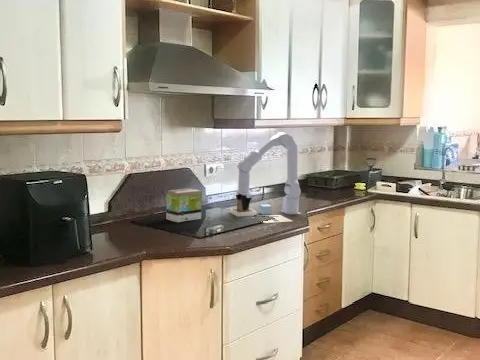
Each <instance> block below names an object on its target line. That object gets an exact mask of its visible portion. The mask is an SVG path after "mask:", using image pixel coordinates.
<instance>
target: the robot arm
mask: <svg viewBox="0 0 480 360" xmlns="http://www.w3.org/2000/svg"><path fill="white" fill-rule="evenodd" d="M279 146H282V147H283V148H285V150H286V151H287V152H286V153H287V154H286V156H287V159H286V160H287V161H286V163H287V164H286V165H287V167H286V168H287V169H286V170H287V172H286V174H287V177H286V181H285V186H284V187H283V191H284V194H285V196H284V197H283V198H282V202H281V203H282V204H281V205H282V206H281V207H282V209H281V210H280V212H282V213H285V215H286V214H287V215H302V213H301V212H299V203H300V196H301V193H302V189H301V188H300V187H301V186H300V183H299V181H298V180H299V179H298V145H297V144H296V142H295V140H294V137H293V136H292V135H291V134H289V133H286V132H282V131H279V132H277V133H276V134H275V135H273V136H271V137H270V138H269V140H267V141H266V142H265V143H264V144H262V146H261V147H260V148H259V149H258V150H253V151H250V153H249V155H246V157H244V158H243V160H240V161H239V162H238V164H237V168H238V182H237V183H238V184H237V185H238V188H237V189H236V191H235V193H236V194H235V198H236V201H237V200H238V199H241V200H242V205H243V210H247V209H248V206H249V207H250V202H251V201H252V199H253V198H252V194H251V193H250V172H251V170H252V168H253V167H254V166H255V165H256V164H257V163H258V162H259V161H261V160H262V158H263V157H262V156H263V155H265V154H266V153H267V152H268V151H269V150H271V149H272V148H274V147H279Z"/></svg>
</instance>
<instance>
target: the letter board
mask: <svg viewBox="0 0 480 360" xmlns="http://www.w3.org/2000/svg"><path fill="white" fill-rule="evenodd" d="M267 216H269V217H273V218H275V219H271V220H268V221H263V222H262V223H264V224H269V223H271V224H272V223H273V224H274V223H288V222H293V220H292V219H290V218H287V217H286V216H283V215H281V214H274V215H273V214H268V215H267Z"/></svg>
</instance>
